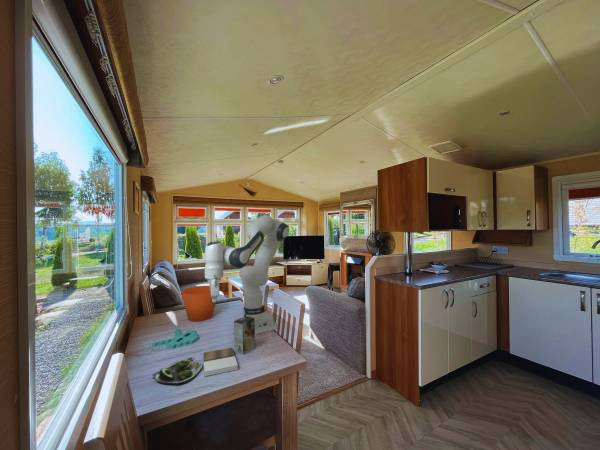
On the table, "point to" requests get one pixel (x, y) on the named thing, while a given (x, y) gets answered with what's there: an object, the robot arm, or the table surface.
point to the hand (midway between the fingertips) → (214, 301)
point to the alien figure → (179, 339)
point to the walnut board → (218, 354)
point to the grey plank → (220, 366)
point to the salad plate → (177, 372)
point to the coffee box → (244, 335)
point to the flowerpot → (198, 303)
